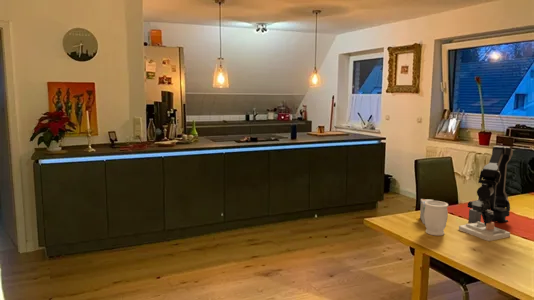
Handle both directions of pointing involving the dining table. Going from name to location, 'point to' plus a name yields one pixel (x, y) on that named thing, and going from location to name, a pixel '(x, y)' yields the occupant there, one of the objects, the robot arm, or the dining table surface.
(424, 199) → the light bulb box
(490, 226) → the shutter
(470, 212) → the plug
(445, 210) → the jar
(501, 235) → the socket plate
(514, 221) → the dining table surface
